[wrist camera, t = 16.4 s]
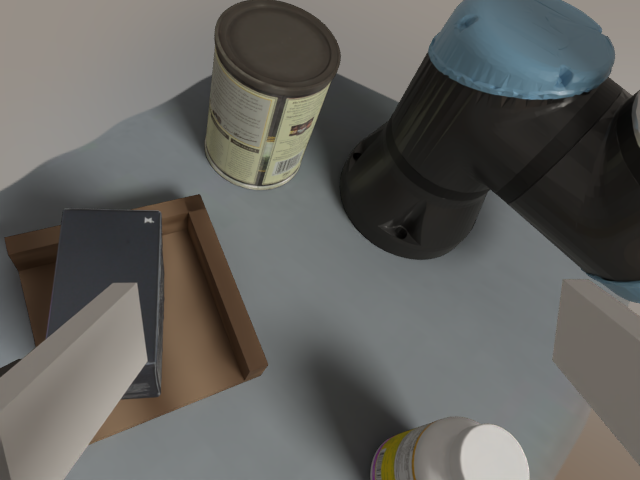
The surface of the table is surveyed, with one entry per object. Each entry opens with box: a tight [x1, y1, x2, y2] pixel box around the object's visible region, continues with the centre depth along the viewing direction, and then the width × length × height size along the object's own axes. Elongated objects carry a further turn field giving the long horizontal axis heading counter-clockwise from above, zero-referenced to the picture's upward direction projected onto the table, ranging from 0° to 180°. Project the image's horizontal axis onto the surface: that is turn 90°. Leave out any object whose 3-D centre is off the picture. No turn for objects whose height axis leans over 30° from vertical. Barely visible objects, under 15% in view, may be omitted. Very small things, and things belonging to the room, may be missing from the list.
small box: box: [46, 208, 165, 400], centre depth 34 cm, size 11×6×10 cm, turn 7°
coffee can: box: [205, 0, 341, 190], centre depth 45 cm, size 10×10×14 cm
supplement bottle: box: [370, 417, 529, 480], centre depth 34 cm, size 7×7×13 cm
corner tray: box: [5, 194, 268, 445], centre depth 38 cm, size 15×16×4 cm
